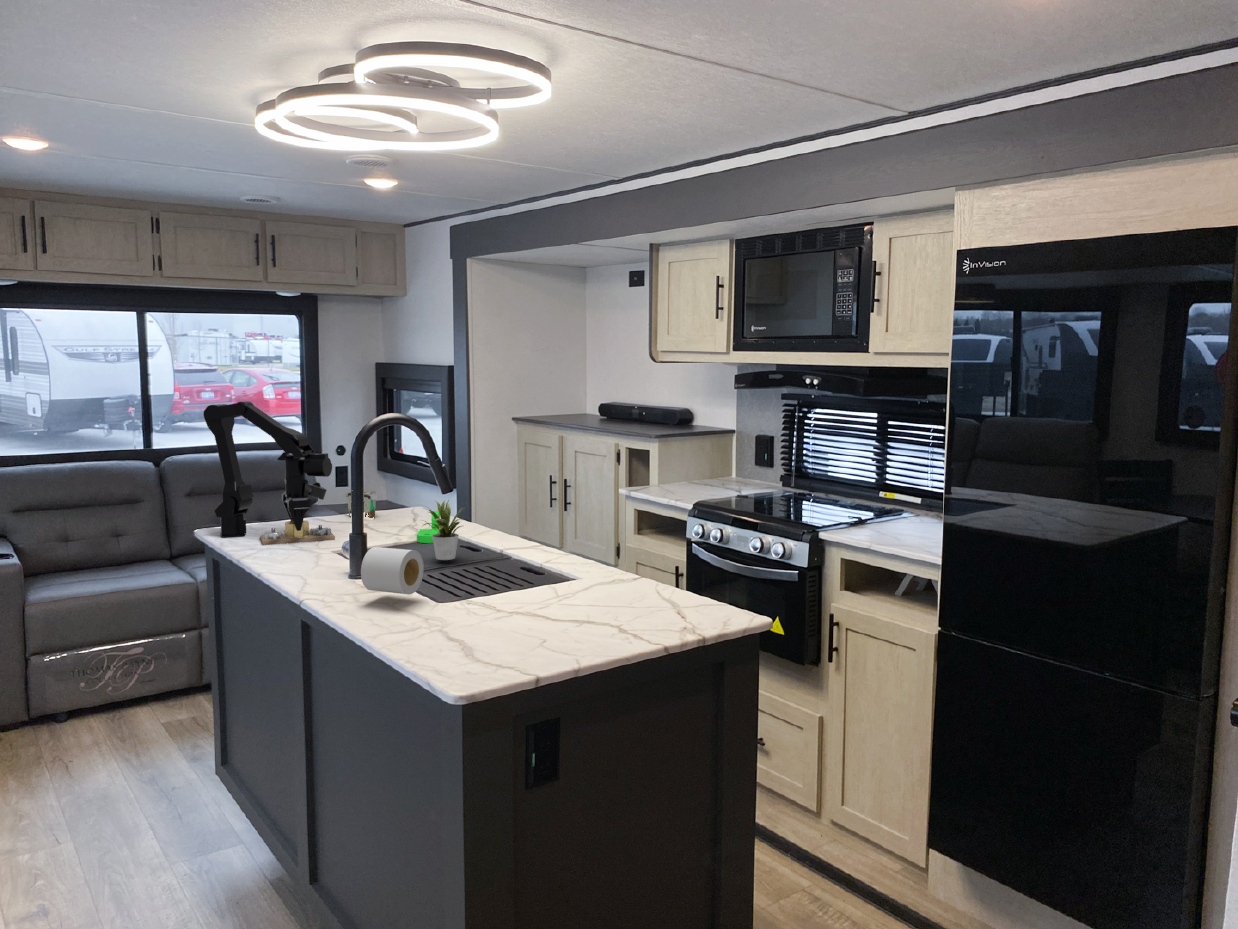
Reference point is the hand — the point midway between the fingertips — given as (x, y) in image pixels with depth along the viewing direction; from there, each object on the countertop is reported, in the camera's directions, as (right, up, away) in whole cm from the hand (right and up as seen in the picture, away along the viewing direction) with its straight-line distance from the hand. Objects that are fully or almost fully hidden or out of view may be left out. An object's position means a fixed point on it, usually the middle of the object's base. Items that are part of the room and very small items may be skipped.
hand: (296, 528), depth 269 cm
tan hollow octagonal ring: (0, -2, 0) cm, 2 cm away
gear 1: (-6, -3, -3) cm, 7 cm away
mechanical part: (+38, -4, +5) cm, 38 cm away
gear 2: (+6, -2, +3) cm, 7 cm away
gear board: (0, -4, 0) cm, 4 cm away
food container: (+11, 0, +35) cm, 36 cm away
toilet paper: (+44, -11, -61) cm, 75 cm away
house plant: (+47, -7, -23) cm, 53 cm away
